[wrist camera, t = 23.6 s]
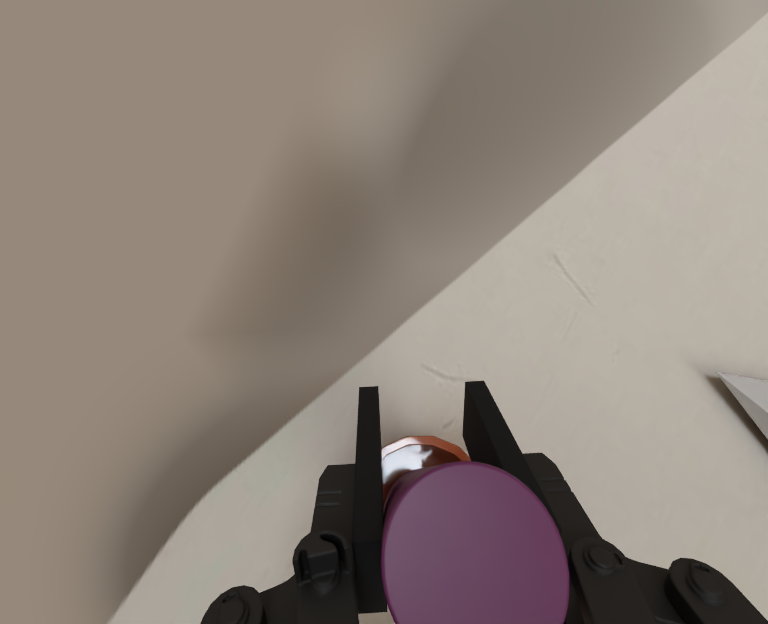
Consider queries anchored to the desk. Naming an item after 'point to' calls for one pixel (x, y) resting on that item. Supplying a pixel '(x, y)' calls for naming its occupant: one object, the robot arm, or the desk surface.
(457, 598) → the cylinder
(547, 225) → the desk surface
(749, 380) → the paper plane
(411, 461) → the pen pot
